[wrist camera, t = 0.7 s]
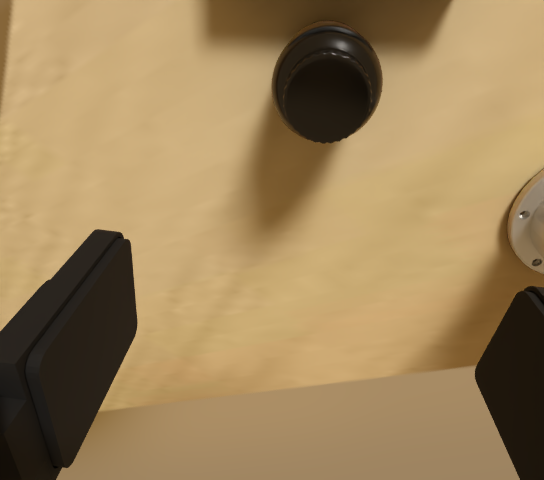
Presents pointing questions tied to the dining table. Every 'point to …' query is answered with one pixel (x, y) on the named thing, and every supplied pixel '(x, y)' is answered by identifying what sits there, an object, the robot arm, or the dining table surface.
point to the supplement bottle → (327, 82)
